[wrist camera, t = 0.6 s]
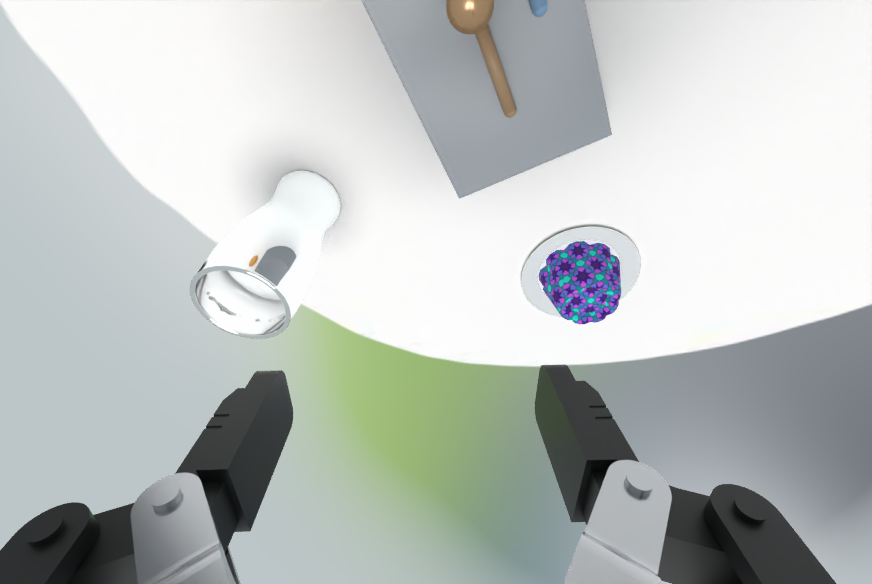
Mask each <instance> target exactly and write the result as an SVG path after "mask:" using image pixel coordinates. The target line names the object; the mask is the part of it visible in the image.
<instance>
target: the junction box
mask: <svg viewBox="0 0 872 584" xmlns="http://www.w3.org/2000/svg"><path fill="white" fill-rule="evenodd" d="M362 2H363V4H364V6H365V8H366V10H367V12H368V14H369V16H370V18H371V20H372V22H373V24H374V26H375V28H376V30H377V32H378V34H379V37H380V39H381V41H382V43H383V45H384V47H385V49H386V51H387V53H388V55H389V57H390V59H391V61H392V63H393V65H394V67H395V69H396V71H397V73H398V75H399V77H400V79H401V81H402V83H403V85H404V87H405V89H406V91H407V93H408V95H409V97H410V99H411V101H412V103H413V106H414V108H415V110H416V112H417V114H418V116H419V118H420V120H421V122H422V124H423V126H424V128H425V130H426V132H427V134H428V136H429V138H430V140H431V142H432V144H433V146H434V148H435V150H436V152H437V154H438V156H439V158H440V160H441V162H442V164H443V166H444V168H445V170H446V173H447V175H448V177H449V179H450V181H451V183H452V185H453V187H454V189H455V191H456V193H457V195H458V197H459V199H460V198H462V197H464V196H467V195H469V194H472V193H474V192H476V191H479V190H481V189H484V188H486V187H488V186H491V185H493V184H495V183H498V182H500V181H503V180H505V179H507V178H510V177H512V176H515V175H517V174H519V173H522V172H524V171H526V170H529V169H531V168H534V167H536V166H538V165H541V164H543V163H546V162H548V161H550V160H553V159H555V158H557V157H560V156H562V155H565V154H567V153H569V152H572V151H574V150H577V149H579V148H581V147H584V146H586V145H588V144H591V143H593V142H596V141H598V140H600V139H603V138H605V137H608V136H610V135H612V133H611V128H610V123H609V118H608V113H607V108H606V103H605V99H604V94H603V89H602V84H601V79H600V74H599V69H598V64H597V60H596V55H595V50H594V45H593V40H592V35H591V30H590V25H589V21H588V16H587V11H586V6H585V1H584V0H494V9H493V14H492V17H491V19H490V21H489V23H488V24H487V25H486V26H485V27H484V28H483V29H482V30H481V31H479V32H477V33H475V34H463V33H461V32H459V31H457V30H456V29H455V28H454V27H453V26H452V24H451V23H450V21H449V19H448V16H447V10H446V3H447V0H362Z"/></svg>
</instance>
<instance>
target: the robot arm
mask: <svg viewBox="0 0 872 584" xmlns="http://www.w3.org/2000/svg"><path fill="white" fill-rule="evenodd" d="M535 414H536V420H537V424H538V427H539V430H540V433H541V435H542V438H543V441H544V444H545V447H546V450H547V453H548V456H549V458H550V461H551V464H552V467H553V470H554V473H555V476H556V479H557V482H558V484H559V487H560V490H561V493H562V496H563V499H564V502H565V505H566V507H567V510H568V513H569V516H570V519H571V522H586V525H587V527H586V529H585V532H583V534H582V536H581V538H580V541H579V543H578V546H577V549H576V551H575V554H574V557H573V559H572V562H571V564H570V567H569V570H568V573H567V575H566V578H565V580H564V583H563V584H660V583H661V580H662V581H665V582H669V583H672V584H836V583H835V581H834V580H833V579H832V578H831V576H830V575H829V574H828V572H827V571H826V570H825V569H824V567H823V566H822V565H821V564H820V563H819V561H818V560H817V559H816V557H815V556H814V555H813V554H812V552H811V551H810V550H809V548H808V547H807V546H806V545H805V544H804V542H803V541H802V540H801V538H800V537H799V536H798V534H797V533H796V532H795V531H794V529H793V528H792V527H791V526H790V524H789V523H788V522H787V521H786V519H785V518H784V517H783V515H782V514H781V513H780V512H779V511H778V510H777V509H776V507H775V506H773V505H772V504H771V503H770V502H769V501H768V500H766V499H765V498H763V497H762V496H760V495H759V494H757V493H755V492H754V491H752V490H749V489H747V488H744V487H741V486H738V485H733V484H722V485H719V486H717V487H715V488H714V489H713V491H712V493H711V495H710V496H706V495H702V494H698V493H694V492H690V491H686V490H682V489H678V488H675V487H672V486H669V485H668V484H667V482H666V481H665V480H664V479H663V477H662V476H661V475H660V474H659V473H657V472H656V471H655V470H654V469H652V468H650V467H649V466H647V465H645V464H643V463H640V462H639V461H638V459H637V458H636V456H635V454H634V453H633V451H632V449H631V447H630V446H629V444H628V442H627V441H626V439H625V437H624V435H623V434H622V432H621V430H620V429H619V427H618V425H617V424H616V422H615V420H614V419H612V415H611V413H610V412H609V410H608V408H606V405H605V403H604V401H603V400H602V398H601V396H600V395H599V393H598V392H597V391H596V390H595V389H594V388H592V387H591V386H590V385H589V384H588V383H587V382H585V381H575V379H574V377H573V375H572V373H571V371H570V369H569V368H568V366H567V365H542V366H541V368H540V372H539V379H538V385H537V392H536V400H535ZM292 421H293V407H292V403H291V399H290V394H289V390H288V385H287V381H286V377H285V374H284V372H283V371H257V372H255V373H254V375H253V377H252V378H251V380H250V381H249V383H248V385H247V386H246V388H238V389H236V390H235V391H234V392H233V393H232V394H230V395H229V396H228V397H227V398H225V399H224V400H223V401H222V403H221V404H220V406H219V407H218V409H217V410H216V412H215V413H214V417H212V418H211V420H210V421H209V423H208V424H207V426H206V429H204V430H203V432H202V434H201V435H200V437H199V438H198V440H197V441H196V443H195V444H194V446H193V447H192V449H191V450H190V452H189V454H188V455H187V456H186V458H185V459H184V461H183V462H182V464H181V466H180V467H179V469H178V470H177V472H176V473H175V474H173V475H170V476H167V477H165V478H163V479H161V480H159V481H157V482H155V483H154V484H152V485H151V486H150V487H149V488H147V489H146V490H145V491H144V492H143V493H142V494H141V495H140V496H139V497H138V499H137V500H136V502H135V503H132V504H129V505H126V506H123V507H119V508H116V509H112V510H109V511H106V512H102V513H99V514H96V515H93V514H92V513H91V511H90V510H89V508H88V507H87V506H86V505H84V504H82V503H67V504H63V505H60V506H57V507H54V508H52V509H49V510H47V511H45V512H43V513H41V514H40V515H38V516H36V517H35V518H33V519H32V520H31V521H29V522H28V523H27V524H25V525H24V526H23V527H22V528H21V529H20V530H18V531H17V532H16V533H15V535H14V536H13V537H12V538H11V539H10V540H9V541H8V542H7V544H6V545H5V546H4V547H3V548H2V549H1V550H0V584H240V581H239V578H238V574H237V572H236V568H235V565H234V562H233V559H232V556H231V553H230V550H229V547H228V545H229V543H230V540H231V538H232V536H233V533H234V532H242V531H250V530H251V528H252V525H253V523H254V520H255V518H256V515H257V513H258V510H259V508H260V505H261V502H262V500H263V497H264V495H265V493H266V490H267V487H268V485H269V482H270V480H271V477H272V475H273V472H274V470H275V467H276V465H277V462H278V460H279V457H280V455H281V452H282V450H283V447H284V445H285V442H286V439H287V437H288V434H289V432H290V429H291V426H292Z"/></svg>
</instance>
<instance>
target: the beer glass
mask: <svg viewBox="0 0 872 584" xmlns="http://www.w3.org/2000/svg"><path fill="white" fill-rule="evenodd" d="M340 208H341V204H340V199H339V196H338V193H337V192H336V190H335V188H334V187H333V186H332V185H331V183H330V182H328V181H327V180H326V179H325V178H323V177H322V176H320V175H318V174H316V173H313V172H310V171H303V170H299V171H293V172H290V173H288V174H286V175H285V176H284V177H283V178H282V179H281V180H280V181H279V183H278V185H277V187H276V190H275V193H274V195H273V197H272V199H271V200H270V201H269V202H267V203H266V204H265V205H263V206H262V207H260V208H259V209H257V210H256V211H254V212H253V213H251V214H250V215H248V216H247V217H245V218H244V219H243V220H241V221H240V222H239V223H238V224H236V225H235V226H234V227H233V228H232V229H231V230H230V231H229V232H228V233H227V234H226V235H225V236H224V237H223V238H222V239H221V240H220V242H219V243H218V244H217V245H216V247H215V248H214V249H213V251H212V252H211V253H210V255H209V256H208V258H207V259H206V261H205V262H204V264H203V265H202V267H201V269H200V270H199V271H198V273H197V274H196V275H195V276H194V277H193V279H192V281H191V283H190V295H191V299H192V301H193V303H194V305H195V306H196V308H197V309H198V311H199V312H200V313H201V314H202V315H203V316H204V317H205V318H206V319H207V320H209V321H210V322H211V323H212V324H214V325H215V326H217V327H219V328H220V329H222V330H224V331H227V332H229V333H231V334H234V335H237V336H240V337H245V338H251V339H265V338H270V337H274V336H276V335H278V334H280V333H282V332H283V331H284V330H285V329H286V328H287V327H288V325H289V322H290V320H291V319H292V317H293V316H294V314H295V313H296V311H297V310H298V308H299V306H300V305H301V303H302V301H303V300H304V298H305V296H306V294H307V292H308V290H309V288H310V286H311V284H312V281H313V279H314V277H315V274H316V270H317V266H318V263H319V258H320V253H321V247H322V241H323V237H324V234H325V232H326V231H327V230H328V229H329V228H330V227H331V226H332V225H333V224H334V222H335V221H336V220H337V218H338V216H339V214H340Z"/></svg>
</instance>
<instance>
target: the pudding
mask: <svg viewBox="0 0 872 584" xmlns="http://www.w3.org/2000/svg"><path fill="white" fill-rule="evenodd" d="M577 240H596V241H600V242H603V243H606V244H607V245H609V246H611V247H612V248H613V249H614V250H615V251H616V252H617V254H618V255H619V258H620V261H621V269H620V264H619V260H618V258H617V257H616V256H613V255H610V248H609V247H607V246H606V245H605V244H601V243H596V244H592V245H589V244H587V243H586V242H584V241H582V242H574V243H571V244H569V245H568V246H567V247H566V249H565V250H557V251H555V252H553V253H552V254H550V253H551V252H552V251H554V250H555V249H556V248H558V247H560V246H562V245H564V244H567V243H569V242H573V241H577ZM549 254H550V255H549ZM548 255H549V257H548V258H547V259H546V264H547V266H545V267H544V268H542V269H541V270H540V273H539V280H540V282H541V283H542V285H543V286H544V288H543V290H544V292H545V293H546V294H545V293H544V292H543V291H542V290H541V288H540V286H539V283H538V271H539V268H540V265H541V263H542V262H543V260H544V259H545V258H546V257H547V256H548ZM640 268H641V258H640V255H639V251H638V249H637V248H636V246H635V244H634V243H633V242H632V241H631V240H630V239H629V238H628V237H626V236H625V235H623V234H622V233H620V232H618V231H615V230H612V229H609V228H603V227H580V228H575V229H571V230H567V231H564V232H562V233H559V234H557V235H555V236H553V237H551V238H550V239H548V240H546V241H545V242H544V243H542V244H541V245H540V246H539V247H537V248H536V250H535V251H534V252H533V253H532V254H531V255H530V257H529V258H528V260H527V261H526V263H525V266H524V268H523V271H522V276H521V285H522V289H523V293H524V295H525V296H526V298H527V300H528V301H529V302H530V303H531V304H532V305H533V306H534V307H536V308H537V309H539V310H541V311H543V312H545V313H547V314H550V315H553V316H559V317H563V318H565V319H567V320H573V322H575V323H577V324H586V323H588V322H599V321H601V320H603V319H605V317H606V315H609V314H612V313H613V312H614V311H615V310H616V309H617V307H618V304H619V301H620V300H621V299H622V298H623V297H625V296H626V294H627V293H628V292H629V291H630V290H631V289H632V287H633V286H634V284H635V283H636V281H637V278H638V276H639V273H640Z"/></svg>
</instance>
